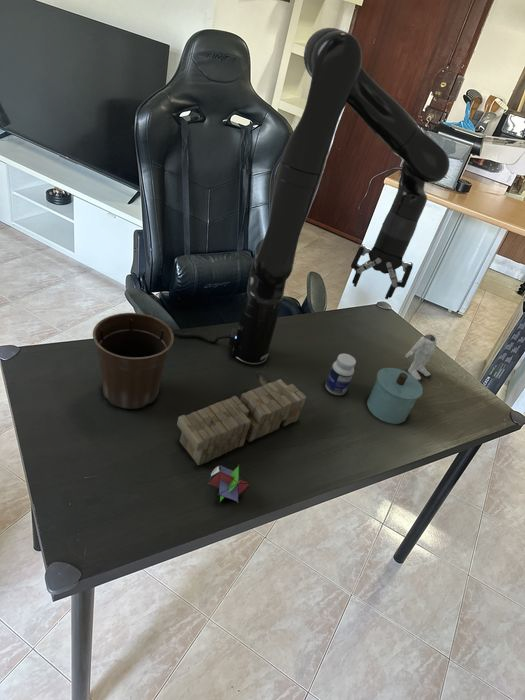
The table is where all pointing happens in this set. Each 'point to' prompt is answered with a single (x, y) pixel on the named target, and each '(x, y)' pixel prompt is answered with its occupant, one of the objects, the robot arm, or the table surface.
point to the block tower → (239, 420)
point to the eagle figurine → (262, 378)
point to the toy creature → (422, 355)
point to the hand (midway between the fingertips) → (370, 291)
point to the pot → (394, 395)
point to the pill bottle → (340, 374)
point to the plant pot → (132, 357)
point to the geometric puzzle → (228, 483)
